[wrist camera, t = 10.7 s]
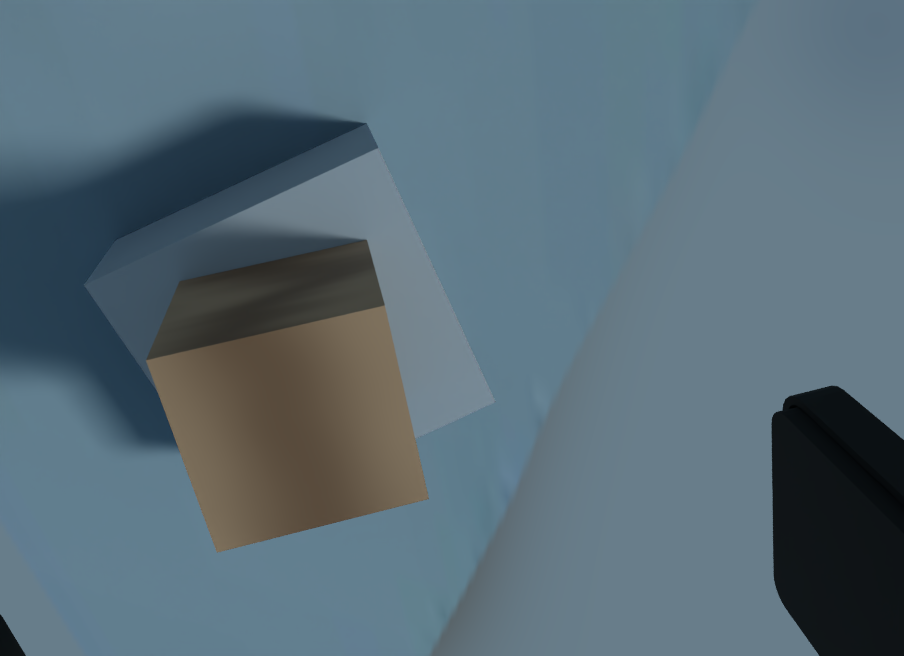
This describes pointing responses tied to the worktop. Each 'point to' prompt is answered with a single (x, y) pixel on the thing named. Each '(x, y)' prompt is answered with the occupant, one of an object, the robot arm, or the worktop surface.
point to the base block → (294, 233)
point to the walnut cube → (287, 396)
